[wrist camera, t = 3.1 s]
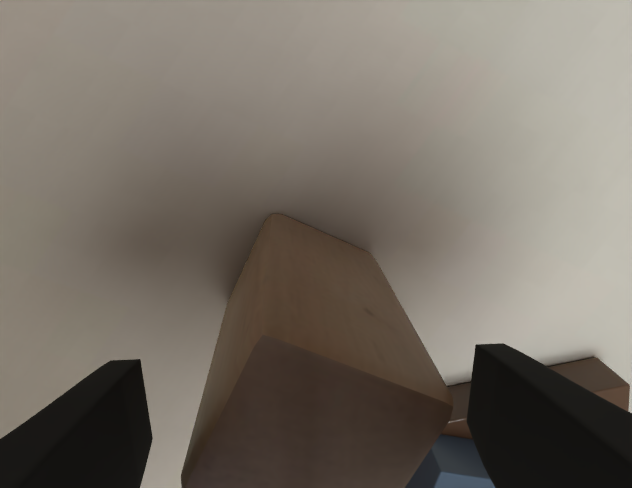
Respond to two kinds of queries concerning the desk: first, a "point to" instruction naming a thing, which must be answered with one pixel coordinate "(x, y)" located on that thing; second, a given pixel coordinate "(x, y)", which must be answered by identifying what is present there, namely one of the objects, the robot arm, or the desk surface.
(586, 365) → the base slab
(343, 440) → the wooden block
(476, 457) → the top tile
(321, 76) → the desk surface
